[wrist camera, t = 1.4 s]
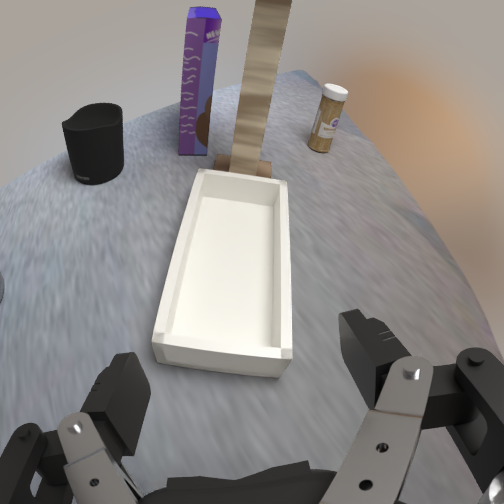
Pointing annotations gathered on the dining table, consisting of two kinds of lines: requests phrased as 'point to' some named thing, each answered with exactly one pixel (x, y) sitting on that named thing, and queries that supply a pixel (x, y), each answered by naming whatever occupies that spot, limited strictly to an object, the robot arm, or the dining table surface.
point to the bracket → (257, 89)
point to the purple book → (198, 79)
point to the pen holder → (95, 142)
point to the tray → (229, 279)
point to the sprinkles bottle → (327, 117)
